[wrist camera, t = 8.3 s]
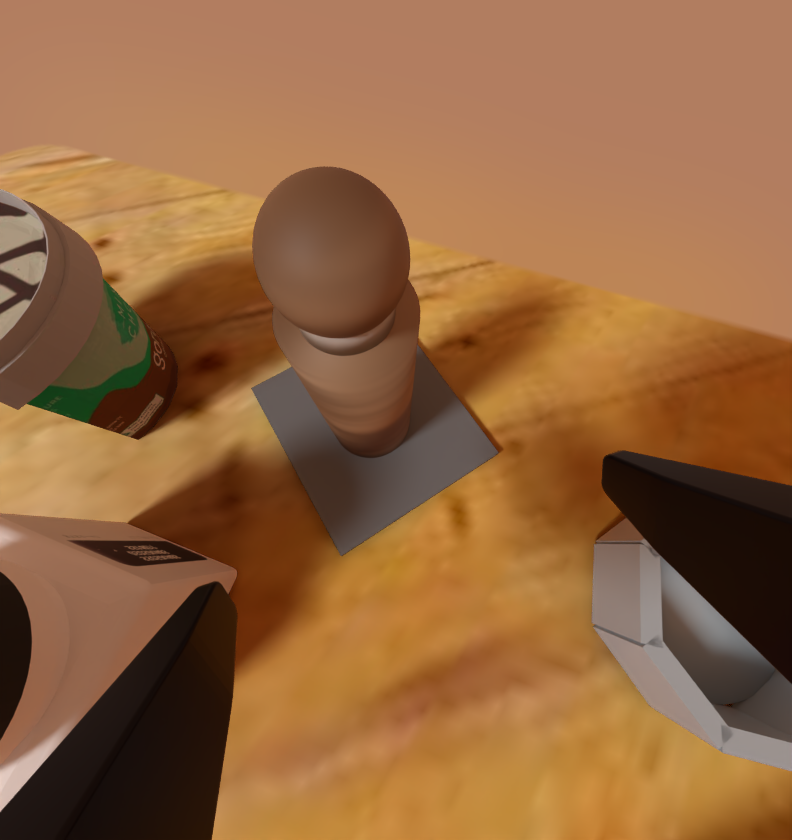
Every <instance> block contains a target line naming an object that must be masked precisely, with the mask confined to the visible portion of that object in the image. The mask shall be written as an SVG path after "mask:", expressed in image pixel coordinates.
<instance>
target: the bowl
mask: <svg viewBox="0 0 792 840" xmlns="http://www.w3.org/2000/svg"><path fill="white" fill-rule="evenodd" d="M596 543H597V544H594V565H593V598H592V623H593V624H595V625H594V626H593V627H594V629H595V630H596V632H597V633H598V634H599V636H600V637H601V639H602V640H603V641H604V643H605V644H606V646H607V647H608V648H609V650H610V651H611V653H612V654H613V655H614V657H615V658H616V660H617V661H618V662H619V664H620V665H621V667H622V668H623V669H624V671H625V672H626V673H627V675H628V676H629V678H630V679H631V680H632V682H633V683H634V685H635V686H636V687H637V689H638V690H639V692H640V693H641V694H642V696H643V697H644V699H645V700H646V701H647V703H648V704H649V706H651V707H652V708H654V709H655V710H657V711H658V712H660V713H662V714H663V715H665V716H666V717H668V718H669V719H671V720H672V721H674V722H676V723H677V724H679V725H680V726H682V727H683V728H685V729H687V730H688V731H690V732H691V733H693V734H694V735H696V736H697V737H699V738H701V739H702V740H704V741H705V742H707V743H708V744H710V745H712V746H713V747H715V748H716V749H718V750H719V751H721V752H723V753H725V754H729V755H733V756H737V757H740V758H744V759H748V760H752V761H755V762H759V763H763V764H766V765H770V766H774V767H778V768H781V769H785V770H789V771H792V684H791V683H790V682H789V681H788V680H787V679H786V678H785V677H784V676H783V675H782V674H781V673H780V672H779V671H777V670H776V669H775V668H774V667H773V666H772V665H771V664H770V663H769V662H768V661H767V660H766V659H765V658H764V657H763V656H762V655H761V654H760V653H759V652H758V651H757V650H756V649H755V648H754V647H753V646H752V645H751V644H750V643H749V642H748V641H747V640H746V639H745V638H744V637H743V636H742V635H741V634H740V633H739V632H738V631H737V630H736V629H735V628H734V627H733V626H732V625H731V624H730V623H729V622H728V621H727V620H725V619H724V618H723V617H722V616H721V615H720V614H719V613H718V612H717V611H716V610H715V609H714V608H713V607H712V606H711V605H710V604H709V603H708V602H707V601H706V600H705V599H704V598H703V597H702V596H701V595H700V594H699V593H698V592H697V591H696V590H695V589H694V588H693V587H692V586H691V585H690V584H689V583H688V582H687V581H686V580H685V579H684V578H683V577H682V576H681V575H680V574H679V573H678V572H677V571H676V570H674V569H673V568H672V567H671V566H670V565H669V564H668V563H667V562H666V561H665V560H664V559H663V558H662V557H661V556H660V555H659V554H658V553H657V552H656V551H655V550H654V549H653V548H652V547H651V545H650V544H649V543H648V542H647V541H646V540H645V539H644V538H643V537H642V535H641V534H640V533H639V532H638V531H637V530H636V528H635V527H634V526H633V525H632V524H631V522H630V521H629V520H628V519H627V518H625V519H624V520H622V521H621V522H620V523H619V524H617V525H616V526H615V527H613V528H612V529H611V530H609V531H608V532H607V533H605V534H604V535H603V536H601V537H600V538H599V539H598V540H596ZM732 703H734V704H733V705H732V706H731V707H730V706H726V705H724V704H732Z"/></svg>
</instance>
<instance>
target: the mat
mask: <svg viewBox="0 0 792 840" xmlns="http://www.w3.org/2000/svg"><path fill="white" fill-rule="evenodd" d="M251 389H252V391H253V392H254V394H255V396H256V398H257V400H258V402H259V404H260V405H261V407H262V409H263V411H264V413H265V415H266V417H267V419H268V420H269V422H270V424H271V426H272V428H273V430H274V432H275V434H276V435H277V437H278V439H279V441H280V443H281V445H282V447H283V448H284V450H285V452H286V454H287V456H288V458H289V460H290V462H291V463H292V465H293V467H294V469H295V471H296V473H297V475H298V477H299V478H300V480H301V482H302V484H303V486H304V488H305V490H306V491H307V493H308V495H309V497H310V499H311V501H312V503H313V505H314V506H315V508H316V510H317V512H318V514H319V516H320V518H321V519H322V521H323V523H324V525H325V527H326V529H327V531H328V533H329V534H330V536H331V538H332V540H333V542H334V544H335V546H336V548H337V549H338V551H339V553H340V555H341V556H343V555H344V554H346V553H347V552H349V551H350V550H352V549H353V548H355V547H356V546H358V545H359V544H361V543H362V542H364V541H365V540H367V539H369V538H370V537H372V536H373V535H375V534H376V533H378V532H379V531H381V530H382V529H384V528H385V527H387V526H388V525H390V524H391V523H393V522H395V521H396V520H398V519H399V518H401V517H402V516H404V515H405V514H407V513H408V512H410V511H411V510H413V509H414V508H416V507H417V506H419V505H421V504H422V503H424V502H425V501H427V500H428V499H430V498H431V497H433V496H434V495H436V494H437V493H439V492H440V491H442V490H443V489H445V488H447V487H448V486H450V485H451V484H453V483H454V482H456V481H457V480H459V479H460V478H462V477H463V476H465V475H466V474H468V473H469V472H471V471H473V470H474V469H476V468H477V467H479V466H480V465H482V464H483V463H485V462H486V461H488V460H489V459H491V458H492V457H494V456H495V455H497V454H498V453H499V452H498V451H497V450H496V448H495V447H494V446H493V444H492V443H491V442H490V440H489V439H488V438H487V436H486V435H485V434H484V432H483V431H482V430H481V428H480V427H479V426H478V424H477V423H476V422H475V420H474V419H473V418H472V416H471V415H470V414H469V412H468V411H467V410H466V408H465V407H464V406H463V404H462V403H461V402H460V400H459V399H458V398H457V396H456V395H455V394H454V392H453V391H452V390H451V388H450V387H449V386H448V384H447V383H446V382H445V380H444V379H443V378H442V376H441V375H440V374H439V372H438V371H437V370H436V368H435V367H434V366H433V364H432V363H431V362H430V360H429V359H428V358H427V356H426V355H425V354H424V352H423V351H422V350H421V348H420V347H419V346H418V344H417V354H416V363H415V373H414V383H413V393H412V403H411V413H410V423H409V429H408V432H407V435H406V437H405V439H404V440H403V442H402V443H401V444H400V446H399V447H397V448H396V449H395V450H394V451H392V452H391V453H389V454H387V455H384V456H382V457H377V458H364V457H359V456H356V455H354V454H352V453H350V452H349V451H347V450H346V449H345V448H344V447H343V446H342V445H341V444H340V443H339V441H338V440H337V438H336V436H335V435H334V433H333V432H332V430H331V428H330V427H329V425H328V424H327V422H326V420H325V419H324V417H323V416H322V414H321V412H320V411H319V409H318V408H317V406H316V404H315V403H314V401H313V400H312V398H311V396H310V395H309V393H308V392H307V390H306V388H305V387H304V385H303V384H302V382H301V380H300V379H299V377H298V376H297V374H296V372H295V371H294V369H293V368H292V367H291V368H289V369H287V370H285V371H283V372H281V373H279V374H277V375H276V376H274V377H272V378H270V379H268V380H266V381H264V382H262V383H260V384H258V385H256V386H254V387H253V388H251Z"/></svg>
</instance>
